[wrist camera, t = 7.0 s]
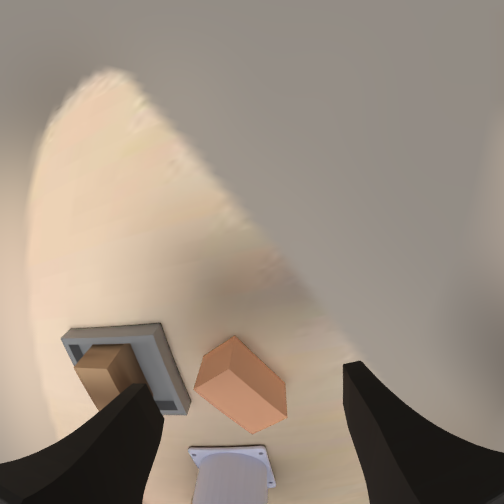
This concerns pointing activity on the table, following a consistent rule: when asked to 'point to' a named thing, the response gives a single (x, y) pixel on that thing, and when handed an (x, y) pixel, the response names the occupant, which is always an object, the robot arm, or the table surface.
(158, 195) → the table surface
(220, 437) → the table surface
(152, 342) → the tray
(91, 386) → the walnut brick
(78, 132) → the table surface
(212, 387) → the terracotta brick
